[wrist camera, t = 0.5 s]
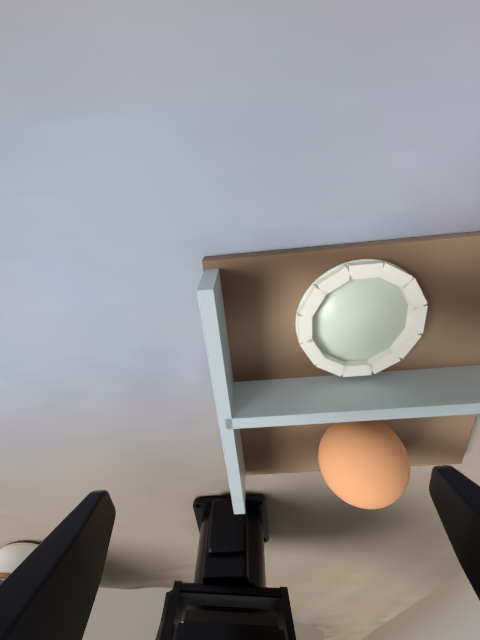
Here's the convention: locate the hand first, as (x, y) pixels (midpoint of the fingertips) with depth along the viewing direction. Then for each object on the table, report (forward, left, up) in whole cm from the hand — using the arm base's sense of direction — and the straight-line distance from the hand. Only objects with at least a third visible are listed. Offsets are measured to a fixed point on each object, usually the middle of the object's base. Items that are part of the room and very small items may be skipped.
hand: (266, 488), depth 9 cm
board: (-5, -6, -13) cm, 15 cm away
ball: (-10, -6, -9) cm, 15 cm away
